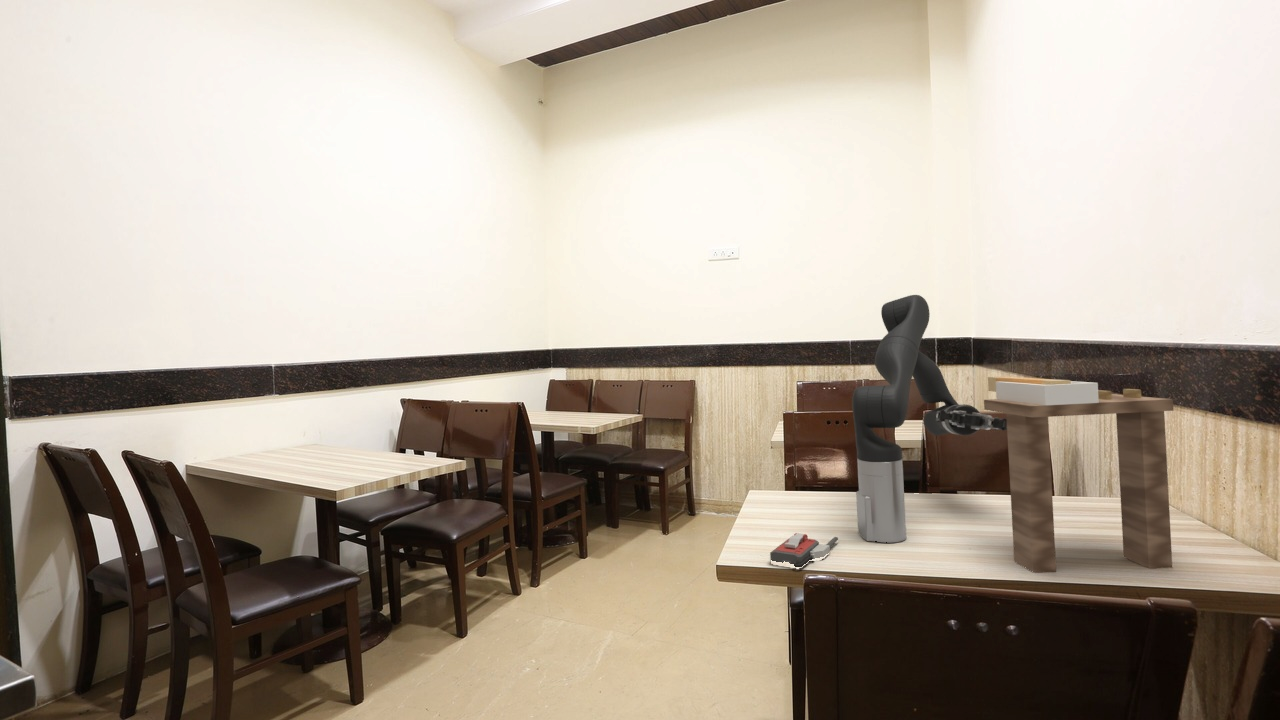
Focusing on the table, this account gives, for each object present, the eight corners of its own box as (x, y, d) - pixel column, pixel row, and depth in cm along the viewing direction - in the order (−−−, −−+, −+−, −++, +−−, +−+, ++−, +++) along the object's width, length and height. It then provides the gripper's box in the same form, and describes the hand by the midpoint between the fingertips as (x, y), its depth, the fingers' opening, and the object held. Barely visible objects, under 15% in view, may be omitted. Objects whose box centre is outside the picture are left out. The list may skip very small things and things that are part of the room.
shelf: (1040, 576, 107) (1030, 397, 107) (991, 548, 123) (983, 392, 123) (1181, 571, 106) (1172, 390, 106) (1114, 543, 122) (1106, 386, 122)
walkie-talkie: (810, 575, 114) (841, 545, 131) (808, 552, 114) (840, 524, 131) (766, 568, 119) (802, 540, 136) (765, 546, 119) (801, 520, 136)
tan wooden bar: (1052, 397, 109) (1052, 381, 109) (988, 391, 131) (987, 377, 131) (1071, 397, 109) (1070, 380, 109) (1003, 390, 131) (1002, 376, 131)
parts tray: (1045, 405, 107) (1044, 385, 107) (996, 399, 123) (995, 381, 123) (1098, 402, 106) (1097, 382, 106) (1042, 396, 122) (1041, 379, 122)
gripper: (931, 400, 154) (946, 399, 138) (993, 409, 150) (1016, 408, 135) (927, 430, 154) (942, 431, 138) (990, 439, 150) (1013, 442, 134)
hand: (979, 420), depth 136 cm, fingers open, 8 cm apart
